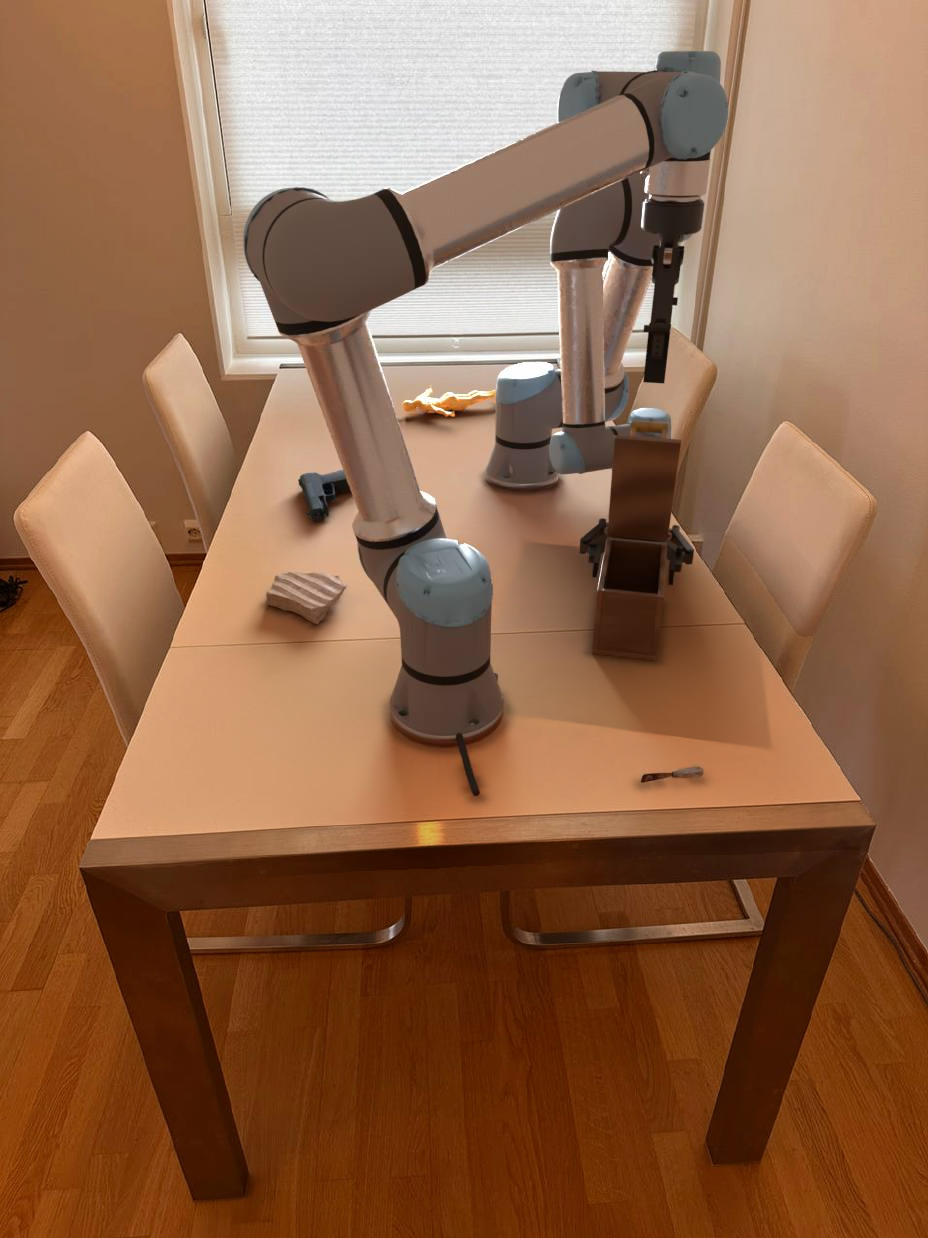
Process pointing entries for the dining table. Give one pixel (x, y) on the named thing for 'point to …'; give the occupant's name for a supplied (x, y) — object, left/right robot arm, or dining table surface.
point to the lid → (643, 483)
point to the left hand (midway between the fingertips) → (655, 367)
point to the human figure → (446, 402)
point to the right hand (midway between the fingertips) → (633, 573)
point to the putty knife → (674, 774)
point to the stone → (305, 593)
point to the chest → (630, 599)
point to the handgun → (322, 491)
